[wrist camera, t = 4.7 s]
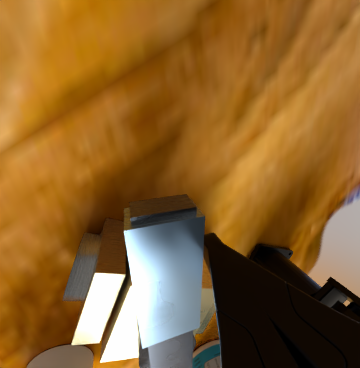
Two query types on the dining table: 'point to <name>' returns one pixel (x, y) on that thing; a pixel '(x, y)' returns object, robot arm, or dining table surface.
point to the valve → (114, 294)
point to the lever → (166, 277)
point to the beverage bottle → (207, 356)
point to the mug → (64, 358)
